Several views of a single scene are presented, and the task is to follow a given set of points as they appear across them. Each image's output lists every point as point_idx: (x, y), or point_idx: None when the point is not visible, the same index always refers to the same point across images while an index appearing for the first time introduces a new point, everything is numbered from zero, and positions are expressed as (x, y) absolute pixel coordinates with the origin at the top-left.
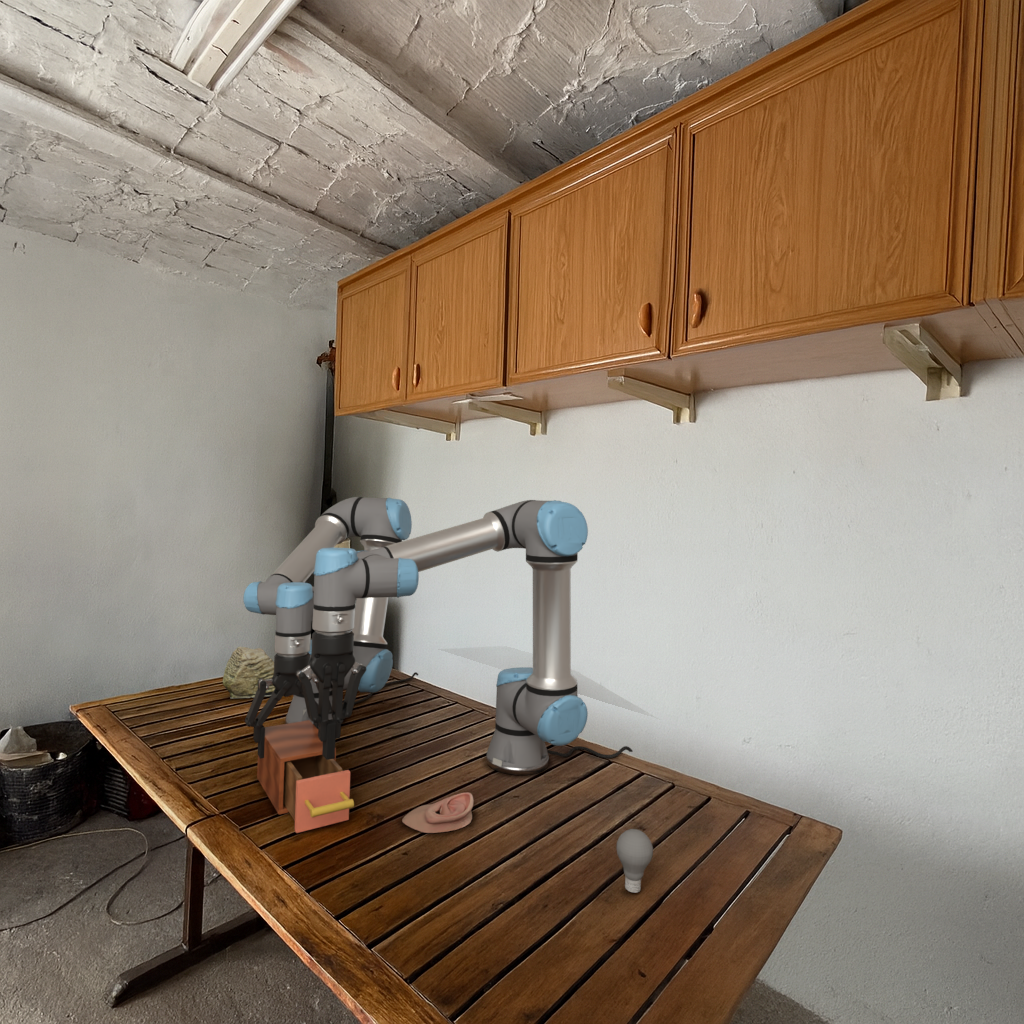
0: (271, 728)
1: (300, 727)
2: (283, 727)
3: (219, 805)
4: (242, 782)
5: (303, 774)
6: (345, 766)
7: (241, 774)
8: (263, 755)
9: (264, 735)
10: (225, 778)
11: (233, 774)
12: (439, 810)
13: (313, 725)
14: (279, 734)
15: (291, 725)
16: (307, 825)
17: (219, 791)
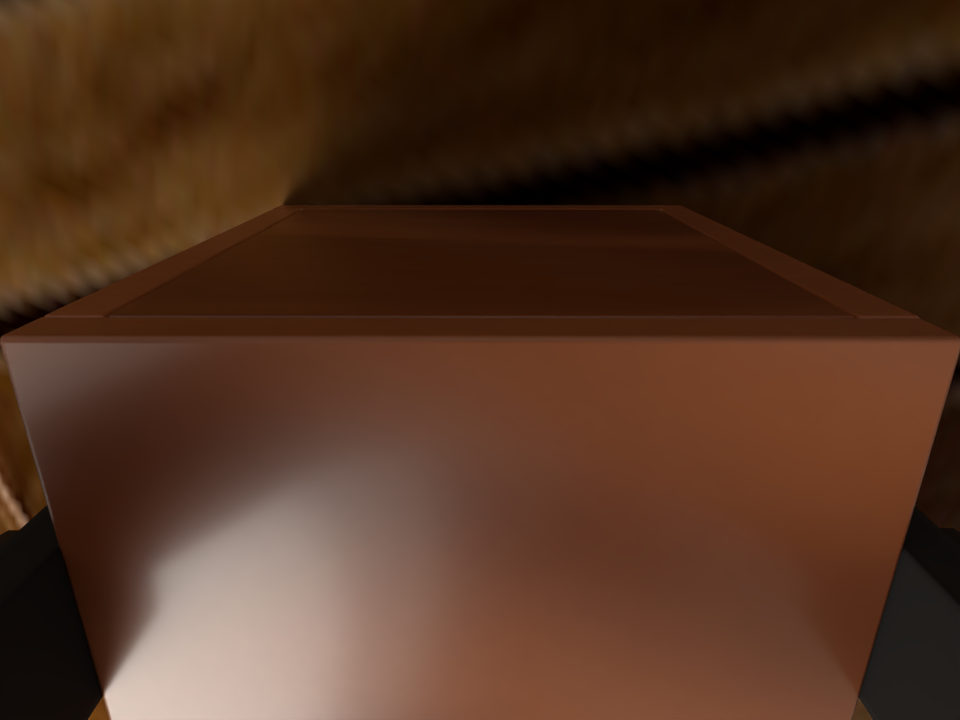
0: (218, 450)
1: (662, 599)
2: (418, 490)
3: (36, 488)
4: (171, 230)
5: None
6: (932, 315)
7: (166, 66)
8: None
9: (86, 711)
10: (39, 85)
11: (100, 30)
12: None
13: (870, 608)
14: (305, 711)
15: (567, 461)
16: None
17: (16, 302)
